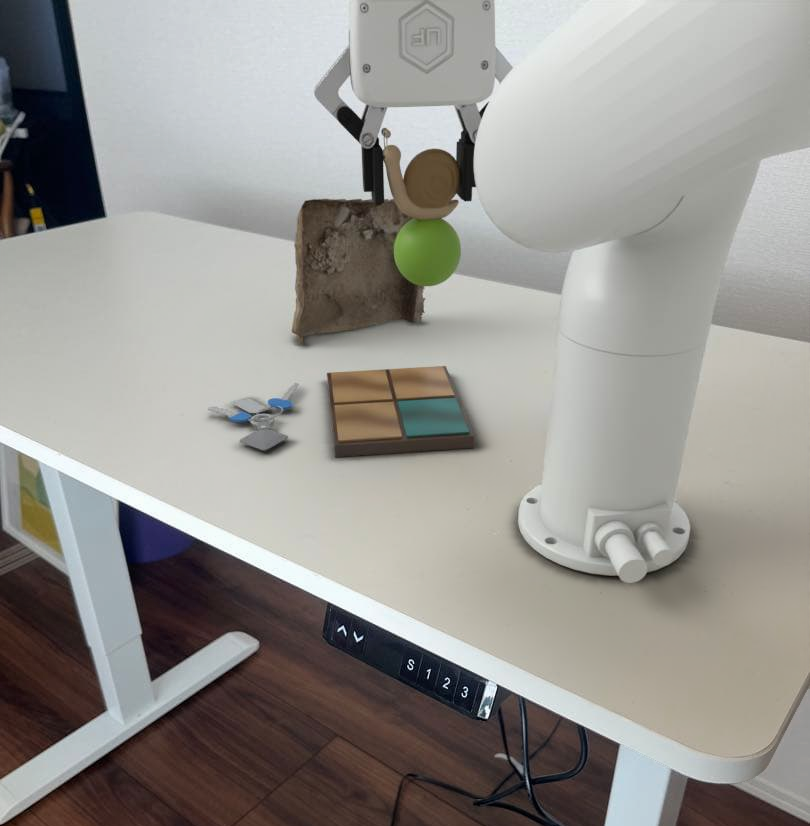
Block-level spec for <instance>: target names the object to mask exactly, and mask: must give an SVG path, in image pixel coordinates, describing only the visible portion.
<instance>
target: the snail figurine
mask: <svg viewBox="0 0 810 826" xmlns="http://www.w3.org/2000/svg"><path fill="white" fill-rule="evenodd" d="M380 130H381V131H380V132H381V135H382V136H383V147H384V148H383V149H382V150H383V164H384V166H385V171H386V177H387V178H386V179H387V181H388V186H389V190H390V193H391V196H392V199H394V201H395V203H396V205H397V207H398V208H399V209H400V211H402V212H403V213H404V214H406V215H408V216H410V217H412V218H414V219H412V220H410V221H409V222H407V223H406V224H405V225H404V226H403V227H402V228H401V230H400V231H399V233H398V235H397V237H396V240H395V244H394V258H395V262H396V265H397V267H398V269H399V271H400V272H401V274H402V275H403V276H404V277H405V278H406V279H407V280H409V281H410V282H412V283H414V284H416V285H420V286H424V287H434V286H437V285H440V284H442V283H444V282H446V281H447V280H448V279H450V278H451V277H452V275H453V274H454V273H455V272H456V270H457V269H458V266H459V263H460V260H461V254H462V245H461V240H460V237H459V235H458V233H457V231H456V230H455V228H454V227H453V226H452V225H451V224H450V223H449V222H448V221H447V220H445V219H444V218H446V217H448V216H449V215H450V214H451V213H452V212H454V210H455V209H456V208H457V206H458V205H459V204H460V203H459V200H458V199H454V198H455V197H456V195H457V194H456V193H457V191H458V189H459V186H460V182H461V172H460V168H459V165H458V163H457V161H456V157H455V156H453V155H452V154H451V153H450V152H449V151H447V150H444V149H441V148H429V149H425V150H422V151H421V152H419V153H417V154H416V155H415V156H413V158H412V159H411V160H410V161H409V163H408V164H407V166H406V168H405V170H404V175H403V174H402V173H403V172H402V168H401V159H402V152H401V150H400V147H398V146H397V145H395V144H389V145H388V139H389V138H391V137H392V136H391V135H392V132H391V130H389V129H388V128H387V127H383V128H381V129H380Z"/></svg>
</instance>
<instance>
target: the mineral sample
mask: <svg viewBox="0 0 810 826" xmlns="http://www.w3.org/2000/svg"><path fill="white" fill-rule="evenodd" d="M412 219H414V218H412V217H410V216H408V215H406V214H404V213H403V212H402V211H400V209H399V208H398V207H397V205H396V203H395V201H394V199H393V198H390V199H389V198H384V203H382V205H375V204H374V202H373V200H372V198H371V199H370V198H369V199H362V198H355V199H346V198H339V199H335V198H318V199H317V198H313V199H308V200H304V202H303V203H302V205H301V207H300V209H299V211H298V213H297V217H296V230H295V235H294V243H293V244H294V255H295V256H294V257H295V266H296V270H295V271H296V273H295V274H296V275H295V282H294V283H295V285H294V290H295V295H296V298H295V309H294V310H295V311H294V313H293V314H294V315H293V320H292V324H291V325H292V326H291V333H292V334H294V335H296V337H297V339H298V341H299V343H300V345H302V346H304V338H303V337H304V336H306V335H309V334H317V335H318V334H326V333H328V334H329V333H338V332H343V331H349V330H350V331H351V330H355V329H356V330H357V329H360V328H364V327H368V326H371V325H374V324H381V323H387V322H391V321H402V320H403V321H406V322H408V323H411V324H423V320H422V319H423V316H424V314H425V310H424V308H425V300H426V298H425V297H424V295H423V294H424V290H425V286H420V285H416V284H414V283H412V282H410V281H409V280H407V279H406V278H405V277H404V276H403V275H402V274H401V272H400V271H399V269H398V267H397V265H396V262H395V258H394V244H395V240H396V237H397V235H398V233H399V231H400V230H401V228H402V227H403V226H404V225H405V224H406V223H407V222H409V221H410V220H412Z"/></svg>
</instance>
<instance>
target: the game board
mask: <svg viewBox="0 0 810 826" xmlns="http://www.w3.org/2000/svg"><path fill="white" fill-rule="evenodd" d="M326 379H327V380H326V381H327V391H328V401H329V410H330V419H331V420H330V421H331V430H332V431H331V432H332V439H333V449H334V457H335V458H342V457H343V458H344V457H357V456H359V457H360V456H373V455H374V456H375V455H388V454H389V455H391V454H402V453H418V452H419V453H420V452H430V451H431V452H435V451H446V450H448V451H449V450H463V449H474V448H475V441H476V439H475V438H476V437H475V436H476V435H475V433H474V431H473V429H472V426H471V424H470V422H469V419H468V416H467V415H466V414H467V413H466V412H465V409H464V407H463V405H462V402H461V400H460V397H459V395H458V392H457V390H456V388H455V384H454V383H453V379H452V378H451V376H450V373H449V370H448V368H447V365H437V366H436V365H435V366H420V367H419V366H417V367H404V368H403V367H402V368H386V369H385V368H383V369H369V370H368V369H367V370H353V371H352V370H350V371H349V370H348V371H334V372H333V371H332V372H326Z"/></svg>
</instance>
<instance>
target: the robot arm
mask: <svg viewBox="0 0 810 826" xmlns="http://www.w3.org/2000/svg"><path fill="white" fill-rule="evenodd" d="M495 5H496V4H495V0H348V45H347V46H346V47H345V49H344V50H343V51H342V52H341V54H340V55H339V56H338V57H337V59H336V60H335V61H334V62H333V63H332V65H331V66H330V68H329V69H328V70H327V71H326V72H325V73H324V75H322V77H321V79H320V80H319V81H318V82H317V84H316V85H315V86H314V88H313V94H314V97H315V99H316V100H317V102H319V103H320V104H321V105H322V106H323V107H324V108H325V109H326V111H327V112H329V114H330V115H332V117H334V118H335V119H336V120H337V121H338V123H339V124H340V125H341V126H342V127H343V128H344V129H345V130H346V131H347V132H348V134H349V135H351V136H352V137H353V139H355V140H356V141H357V142H358V143H359V145H360V146H361V147H360V149H361V168H362V169H361V170H362V171H361V172H362V189H363V193H370V195H371V199H372V200H373V202H374V204H375V205H382V203H384V199H385V178H384V177H385V174H384V173H385V172H384V171H385V170H384V161H383V150H384V149H383V148H382V147H381V145H380V138H379V133H380V132H381V131H380V130H381V129H382V124H383V122H384V118H385V115H386V112H387V110H388V108H418V107H419V108H420V107H446V106H448V107H450V106H453V107H454V110H455V112H456V116H457V118H458V121H459V124H460V127H461V129H462V131H461V132H460V138H458V141H456V151H455V152H456V155H455V156H456V157H455V160H456V161H457V163H458V165H459V168H460V172H461V182H460V186H459V189H458V191H457V193H456V195H457V196H458V197H459V199H461V201H463V202H472V199H473V188H476V192H477V195H478V198H479V202H480V203H481V206H482V208H483V211H484V212H485V213H486V215H487V217H488V218H489V220H490V221H491V222H492V224H493V225H494V226H495V227H496V228H497V229H498V230H499V231H500V232H501V233H502V234H504V235H505V236H506V237H507V238H508V239H510V240H511V241H513V242H514V243H516V244H518V245H520V246H522V247H525V248H527V249H530V250H532V251H536V252H539V253H540V252H541V253H548V254H561V253H570V252H572V254H571V257H570V260H569V262H568V266H567V269H566V272H565V276H564V279H563V280H564V281H563V285H562V288H561V294H560V301H559V308H558V319H557V327H556V337H555V348H554V356H553V357H554V358H553V368H552V378H551V389H550V400H549V409H548V419H547V420H548V421H547V431H546V440H545V449H544V450H545V452H544V460H543V472H542V473H543V474H542V482H541V483H540V484H538V485H536V486H534V487H533V488H532V489H530V490H529V491H528V492H527V493H526V494H525V495H524V496H523V498H522V499H521V501H520V504H519V508H518V515H517V516H518V517H517V524H518V528H519V532H520V534H521V535H522V537H523V539H524V540H525V542H526V543H527V544H528V545H529V546H530V547H531V548H532V549H533V550H535V551H536V552H537V553H539V554H540V555H541V556H543V557H545V558H546V559H548V560H549V561H552V562H554V563H556V564H558V565H560V566H563V567H566V568H568V569H571V570H574V571H578V572H583V573H587V574H591V575H598V576H599V575H600V576H611V577H612V576H614V577H615V576H618V577H619V579H620V581H622V582H624V583H626V584H634V583H637V582H640V581H641V580H642V579H643V578H645V577H646V575H647V573H651V572H654V571H657V570H660V569H662V568H665V567H666V566H669V565H671V564H672V563H674V562H675V561H676V560H678V559H679V558H680V557H681V555H682V554H683V553H684V552H685V551H686V549H687V546H688V543H689V540H690V533H691V524H690V519H689V517H688V516H687V513H686V511H685V510H684V509H683V508H682V507H681V506H680V505H679V504H678V502H676V500H675V497H676V493H677V488H678V484H679V479H680V478H679V477H680V473H681V470H682V469H681V468H682V464H683V459H684V454H685V449H686V445H687V441H688V440H687V439H688V435H689V429H690V425H691V420H692V415H693V409H694V405H695V401H696V397H697V391H698V385H699V382H700V377H701V371H702V367H703V362H704V358H705V357H704V356H705V352H706V347H707V342H708V338H709V336H710V330H711V326H712V321H713V316H714V313H715V307H716V303H717V297H718V294H719V290H720V285H721V282H722V279H723V278H722V277H723V274H724V271H725V266H726V262H727V259H728V256H729V252H730V249H731V246H732V244H733V240H734V238H735V234H736V232H737V229H738V227H739V224H740V221H741V218H742V216H743V213H744V211H745V208H746V205H747V203H748V201H749V198H750V196H751V193H752V189H753V187H754V184H755V181H756V179H757V175H758V172H759V170H760V169H759V168H760V165H761V161H763V160H766V159H768V158H771V157H775V156H779V155H783V154H787V153H791V152H795V151H800V150H805V149H808V148H810V0H588V1H587V2H586V3H585V4H584V5H582V6H581V7H580V8H579V9H578V10H576V12H575V13H573V14H572V15H571V16H570V17H568V18H567V19H566V20H565V21H564V22H562V23H561V24H560V25H559V26H558V27H557V28H556V29H554V30H553V31H552V32H551V33H549V34H548V36H546V37H545V38H544V39H542V40H541V41H540V42H539V43H538V44H537V45H536V46H534V47H533V48H532V49H531V50H530V51H529V52H528V53H527V54H525V55H524V56H523V57H522V58H521V59H520V60H519V61H518V62H517V63H516V64H515V65H514V66H513V65H512V64H511V63H510V62H509V61H508V60H507V58H506V57H505V56H504V55H503V53H501V51H500V50H499V49H498V47H497V46H496V7H495ZM348 78H350V79H349V80H350V85H351V89H352V92H353V94H354V95H355V97H356V98H357V100H359V102H361V103H362V104H365V105H364V108H363V111H362V114H361V117H360V116H359V115H358V114H357V113H356V112H355V111H354V110H353V109H352V108H351V107H350V106H349V105H348V104H347V103H346V102H345V101H344V100H343V98H342V97H340V95H339V90H340V88H341V87H342V86H343V84H344V83H345V82H346V81H347V79H348ZM495 81H497V82H498V86H497V87H496V89H495V90H494V88H495ZM488 98H490V99H489V101H487V102H486V104H485V105H484V106H483V107H481V109H480V110H479V108H478V105H477V104H479V103H481V102H484V101H485V100H488Z"/></svg>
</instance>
